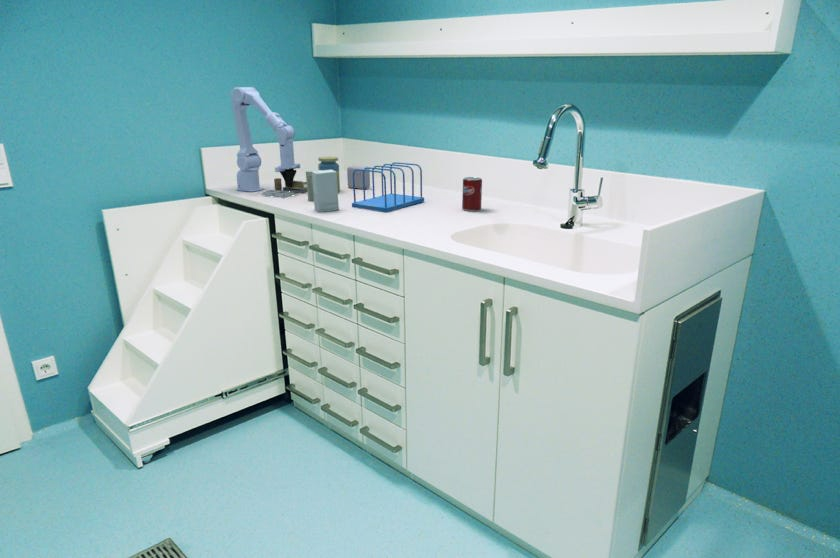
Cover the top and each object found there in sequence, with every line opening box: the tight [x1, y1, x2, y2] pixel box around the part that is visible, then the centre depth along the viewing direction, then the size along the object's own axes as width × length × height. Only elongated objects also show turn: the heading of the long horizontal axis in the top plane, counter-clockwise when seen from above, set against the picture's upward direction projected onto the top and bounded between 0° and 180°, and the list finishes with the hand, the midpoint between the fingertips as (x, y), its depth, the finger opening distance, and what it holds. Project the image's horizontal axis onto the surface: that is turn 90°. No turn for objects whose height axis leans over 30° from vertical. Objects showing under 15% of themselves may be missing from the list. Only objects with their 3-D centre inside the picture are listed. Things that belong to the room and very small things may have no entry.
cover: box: [284, 180, 307, 190], centre depth 262 cm, size 9×9×3 cm
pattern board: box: [282, 181, 308, 194], centre depth 266 cm, size 11×19×2 cm, turn 153°
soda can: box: [461, 176, 483, 212], centre depth 223 cm, size 7×7×12 cm
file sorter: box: [351, 161, 425, 213], centre depth 231 cm, size 25×17×15 cm
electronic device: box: [346, 164, 371, 190], centre depth 267 cm, size 10×5×10 cm, turn 58°
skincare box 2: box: [312, 170, 340, 213], centre depth 221 cm, size 8×6×15 cm
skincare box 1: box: [305, 169, 323, 202], centre depth 240 cm, size 6×4×12 cm
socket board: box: [261, 189, 295, 199], centre depth 251 cm, size 12×7×2 cm, turn 63°
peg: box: [273, 177, 283, 191], centre depth 257 cm, size 3×3×6 cm
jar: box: [317, 156, 341, 193], centre depth 257 cm, size 9×9×15 cm
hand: (289, 186), depth 254 cm, fingers closed
